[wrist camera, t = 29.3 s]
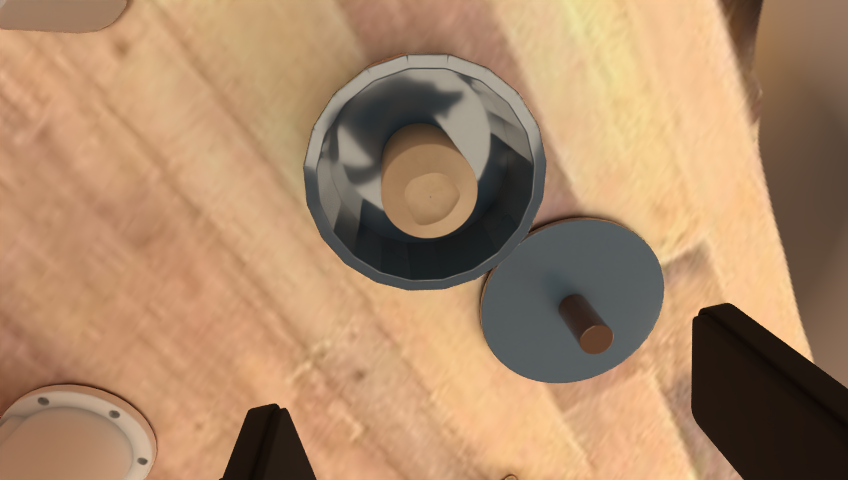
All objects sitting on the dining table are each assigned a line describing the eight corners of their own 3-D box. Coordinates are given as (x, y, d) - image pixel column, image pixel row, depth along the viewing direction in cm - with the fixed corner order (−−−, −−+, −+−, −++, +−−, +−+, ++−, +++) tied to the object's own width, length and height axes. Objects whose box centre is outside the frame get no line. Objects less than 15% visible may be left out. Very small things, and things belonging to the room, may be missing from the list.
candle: (429, 209, 36) (445, 264, 27) (367, 171, 35) (361, 216, 25) (471, 148, 35) (502, 184, 25) (408, 106, 33) (416, 128, 24)
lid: (453, 354, 42) (463, 400, 36) (519, 191, 37) (543, 216, 31) (607, 390, 45) (639, 438, 39) (689, 243, 39) (739, 275, 34)
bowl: (299, 221, 36) (281, 258, 30) (348, 21, 31) (338, 14, 25) (476, 268, 39) (494, 312, 32) (547, 92, 34) (585, 102, 27)
